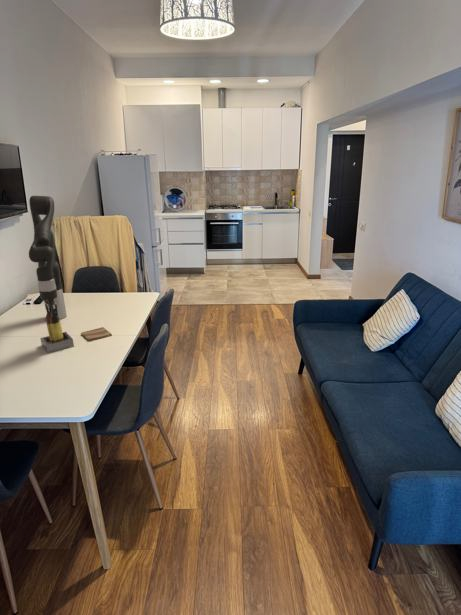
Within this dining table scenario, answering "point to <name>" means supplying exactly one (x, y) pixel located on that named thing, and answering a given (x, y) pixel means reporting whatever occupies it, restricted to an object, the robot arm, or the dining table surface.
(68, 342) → the grey shallow box
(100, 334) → the walnut board
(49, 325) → the sauce bottle
